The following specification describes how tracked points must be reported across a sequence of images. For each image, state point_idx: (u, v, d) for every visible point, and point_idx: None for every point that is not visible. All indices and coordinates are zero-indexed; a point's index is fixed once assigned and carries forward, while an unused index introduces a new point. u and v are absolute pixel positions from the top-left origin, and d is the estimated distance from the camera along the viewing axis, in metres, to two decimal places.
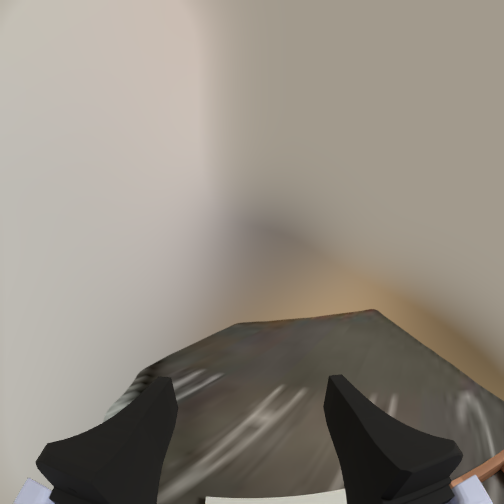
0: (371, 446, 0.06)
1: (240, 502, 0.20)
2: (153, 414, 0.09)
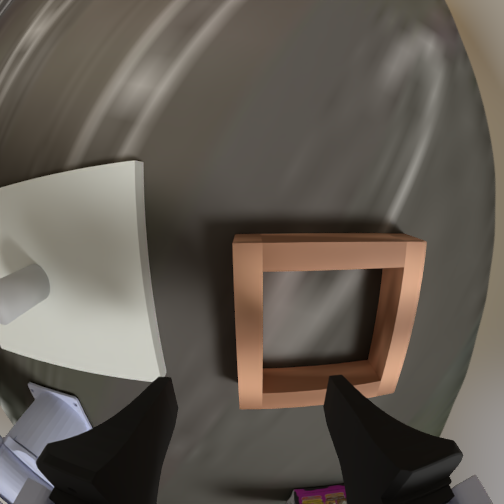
0: (371, 446, 0.06)
1: None
2: (153, 414, 0.09)
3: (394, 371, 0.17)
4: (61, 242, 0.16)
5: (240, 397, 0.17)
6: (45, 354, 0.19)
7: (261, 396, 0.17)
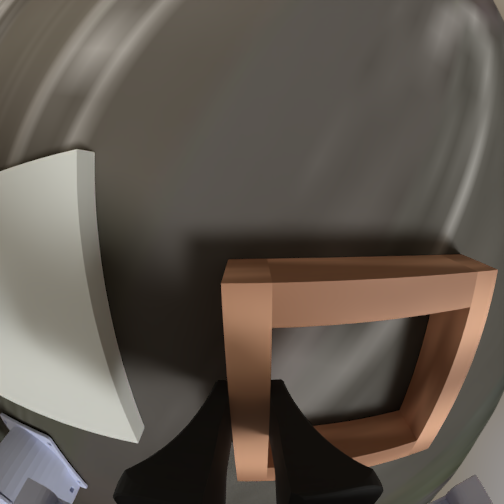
0: (282, 459, 0.06)
1: None
2: (224, 420, 0.09)
3: (434, 428, 0.11)
4: (0, 266, 0.10)
5: (238, 471, 0.11)
6: (7, 392, 0.12)
7: (265, 470, 0.11)
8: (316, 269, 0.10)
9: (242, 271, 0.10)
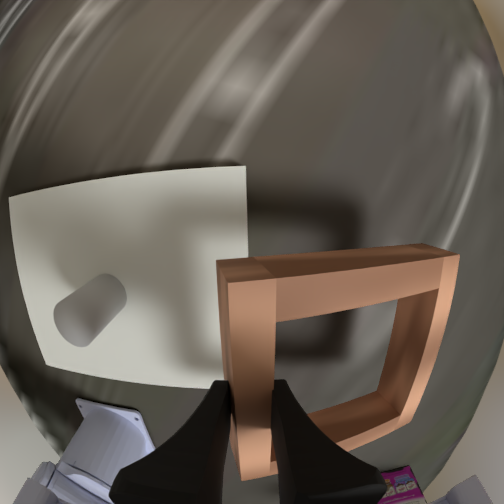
0: (286, 459, 0.06)
1: (34, 198, 0.16)
2: (220, 420, 0.09)
3: (414, 402, 0.14)
4: (147, 250, 0.17)
5: (242, 470, 0.11)
6: (109, 370, 0.20)
7: (268, 465, 0.12)
8: (306, 263, 0.11)
9: (239, 270, 0.10)
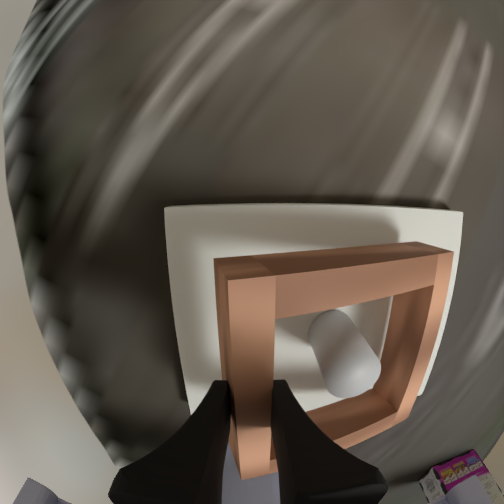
0: (287, 459, 0.06)
1: (227, 215, 0.16)
2: (220, 420, 0.09)
3: (411, 398, 0.14)
4: None
5: (242, 469, 0.11)
6: None
7: (268, 463, 0.12)
8: (304, 261, 0.11)
9: (238, 268, 0.10)
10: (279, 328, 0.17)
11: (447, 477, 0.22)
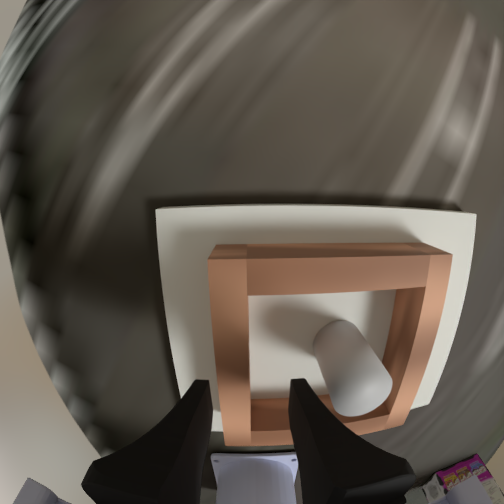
0: (316, 455, 0.06)
1: (224, 217, 0.14)
2: (197, 419, 0.09)
3: (405, 403, 0.14)
4: None
5: (225, 434, 0.14)
6: None
7: (249, 434, 0.14)
8: (284, 251, 0.13)
9: (225, 252, 0.13)
10: (281, 340, 0.16)
11: (450, 483, 0.21)
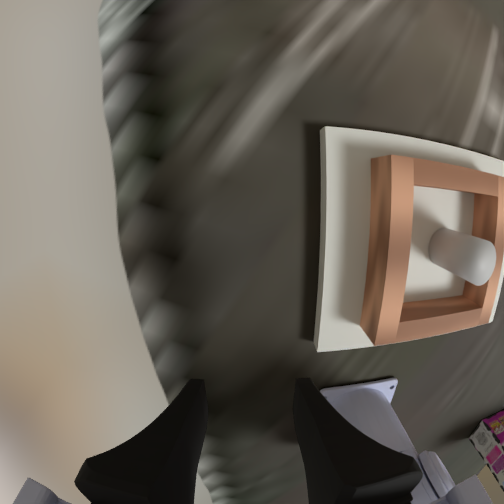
0: (324, 455, 0.06)
1: (376, 139, 0.16)
2: (191, 418, 0.09)
3: (491, 298, 0.16)
4: (473, 210, 0.17)
5: (378, 329, 0.16)
6: None
7: (397, 326, 0.16)
8: None
9: None
10: None
11: (496, 428, 0.23)
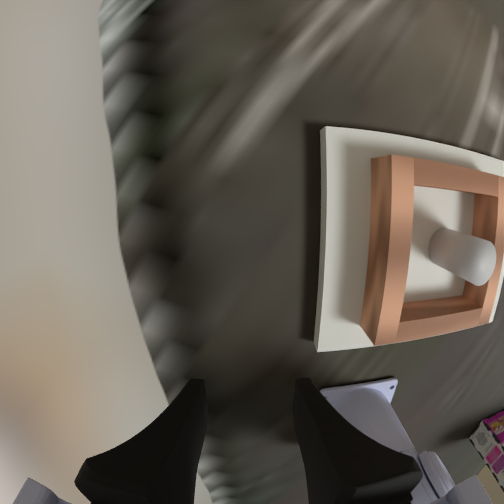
0: (324, 455, 0.06)
1: (376, 139, 0.16)
2: (191, 418, 0.09)
3: (491, 298, 0.16)
4: (473, 210, 0.17)
5: (378, 329, 0.16)
6: None
7: (397, 326, 0.16)
8: None
9: None
10: None
11: (496, 428, 0.23)
